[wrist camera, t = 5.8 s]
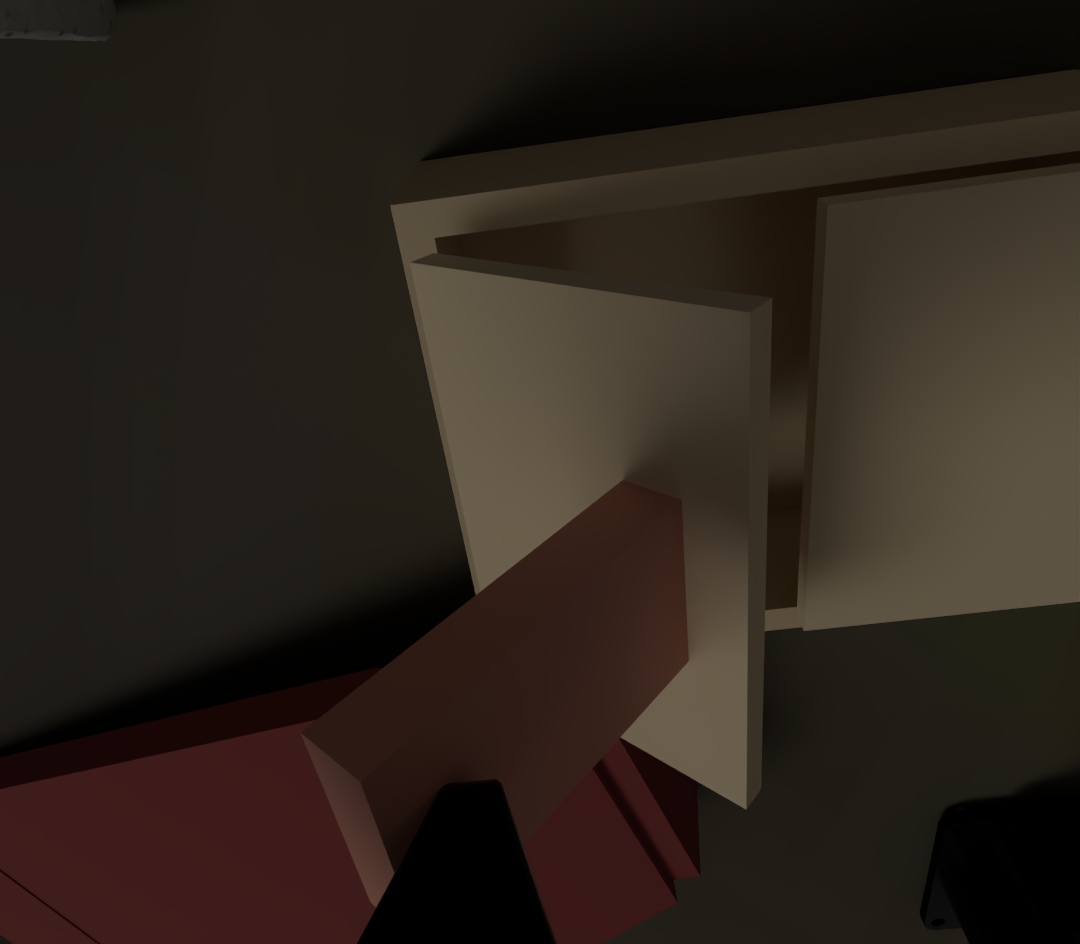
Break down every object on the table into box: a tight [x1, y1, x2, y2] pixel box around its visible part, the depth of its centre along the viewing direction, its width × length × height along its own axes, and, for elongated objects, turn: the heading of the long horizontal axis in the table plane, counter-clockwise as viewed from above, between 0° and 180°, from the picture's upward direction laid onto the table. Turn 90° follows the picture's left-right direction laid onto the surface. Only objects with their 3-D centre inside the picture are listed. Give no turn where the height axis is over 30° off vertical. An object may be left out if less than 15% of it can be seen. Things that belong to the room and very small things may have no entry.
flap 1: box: [301, 253, 772, 907], centre depth 11 cm, size 9×6×6 cm
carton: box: [0, 667, 700, 944], centre depth 26 cm, size 12×5×25 cm
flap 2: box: [797, 163, 1080, 631], centre depth 14 cm, size 9×6×1 cm
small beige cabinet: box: [390, 69, 1080, 631], centre depth 17 cm, size 10×13×4 cm
